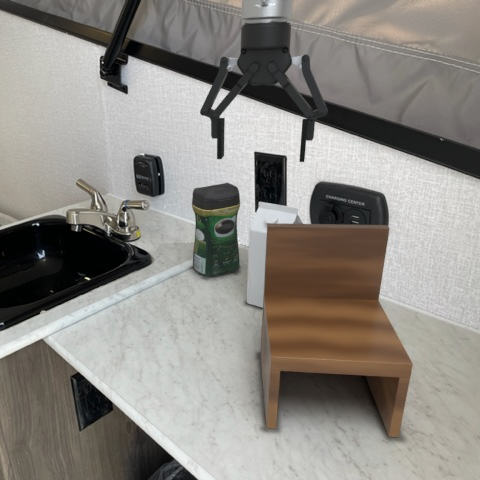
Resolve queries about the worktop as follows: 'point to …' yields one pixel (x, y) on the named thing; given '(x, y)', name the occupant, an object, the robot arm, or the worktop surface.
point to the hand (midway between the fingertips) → (260, 158)
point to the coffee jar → (216, 229)
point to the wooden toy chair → (330, 313)
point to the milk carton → (264, 245)
